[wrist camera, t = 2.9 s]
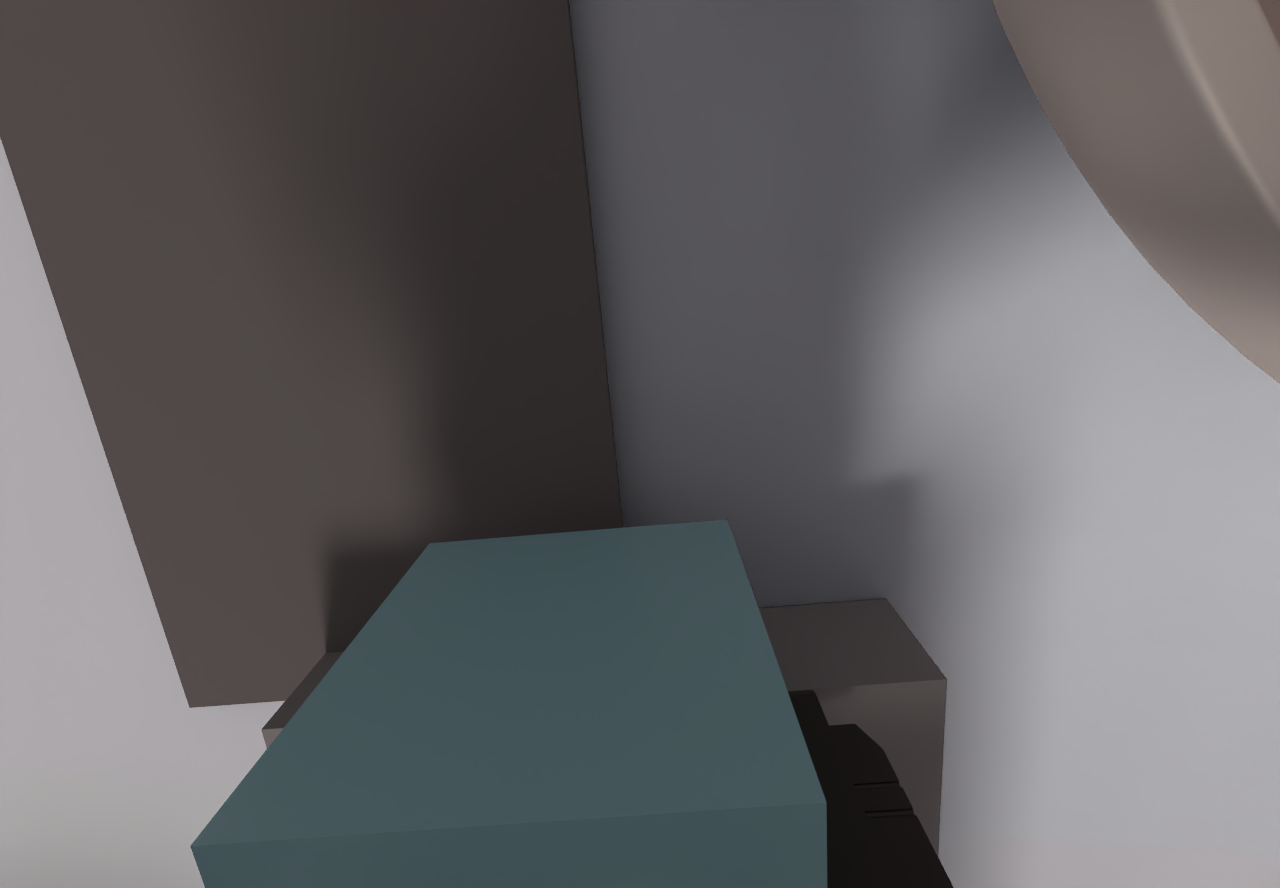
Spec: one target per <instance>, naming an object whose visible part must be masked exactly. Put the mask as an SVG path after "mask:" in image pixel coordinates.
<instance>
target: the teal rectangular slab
mask: <svg viewBox="0 0 1280 888" xmlns="http://www.w3.org/2000/svg"><path fill="white" fill-rule="evenodd" d="M191 849H192V852H193V855H194V857H195V860H196V863H197V866H198V869H199V871H200V874H201V877H202V880H203V883H204V886H205V888H827V807H826V800H825V797H824V794H823V791H822V788H821V785H820V783H819V780H818V777H817V774H816V771H815V768H814V765H813V762H812V760H811V757H810V754H809V751H808V748H807V745H806V742H805V740H804V737H803V734H802V731H801V728H800V725H799V722H798V720H797V717H796V714H795V711H794V708H793V705H792V702H791V700H790V697H789V694H788V691H787V688H786V685H785V682H784V680H783V677H782V674H781V671H780V668H779V665H778V662H777V660H776V657H775V654H774V651H773V648H772V645H771V642H770V640H769V637H768V634H767V631H766V628H765V625H764V622H763V620H762V617H761V614H760V611H759V608H758V605H757V602H756V600H755V597H754V594H753V591H752V588H751V585H750V582H749V579H748V577H747V574H746V571H745V568H744V565H743V562H742V559H741V557H740V554H739V551H738V548H737V545H736V542H735V539H734V537H733V534H732V531H731V528H730V525H729V522H728V519H723V520H711V521H699V522H686V523H674V524H662V525H649V526H637V527H625V528H612V529H600V530H588V531H575V532H563V533H551V534H538V535H526V536H514V537H501V538H489V539H477V540H464V541H452V542H440V543H429V545H428V546H427V547H426V549H425V550H424V551H423V552H422V554H421V555H420V556H419V557H418V559H417V560H416V561H415V562H414V564H413V565H412V566H411V568H410V569H409V570H408V571H407V573H406V574H405V575H404V576H403V578H402V579H401V580H400V581H399V583H398V584H397V585H396V587H395V588H394V589H393V590H392V592H391V593H390V594H389V595H388V597H387V598H386V599H385V600H384V602H383V603H382V604H381V605H380V607H379V608H378V609H377V611H376V612H375V613H374V614H373V616H372V617H371V618H370V619H369V621H368V622H367V623H366V624H365V626H364V627H363V628H362V630H361V631H360V632H359V633H358V635H357V636H356V637H355V638H354V640H353V641H352V642H351V643H350V645H349V646H348V647H347V649H346V650H345V651H344V652H343V654H342V655H341V656H340V657H339V659H338V660H337V661H336V662H335V664H334V665H333V666H332V668H331V669H330V670H329V671H328V673H327V674H326V675H325V676H324V678H323V679H322V680H321V681H320V683H319V684H318V685H317V687H316V688H315V689H314V690H313V692H312V693H311V694H310V695H309V697H308V698H307V699H306V700H305V702H304V703H303V704H302V706H301V707H300V708H299V709H298V711H297V712H296V713H295V714H294V716H293V717H292V718H291V719H290V721H289V722H288V723H287V725H286V726H285V727H284V728H283V730H282V731H281V732H280V733H279V735H278V736H277V737H276V738H275V740H274V741H273V742H272V743H271V745H270V746H269V747H268V749H267V750H266V751H265V752H264V754H263V755H262V756H261V757H260V759H259V760H258V761H257V762H256V764H255V765H254V766H253V768H252V769H251V770H250V771H249V773H248V774H247V775H246V776H245V778H244V779H243V780H242V781H241V783H240V784H239V785H238V787H237V788H236V789H235V790H234V792H233V793H232V794H231V795H230V797H229V798H228V799H227V800H226V802H225V803H224V804H223V806H222V807H221V808H220V809H219V811H218V812H217V813H216V814H215V816H214V817H213V818H212V819H211V821H210V822H209V823H208V825H207V826H206V827H205V828H204V830H203V831H202V832H201V833H200V835H199V836H198V837H197V838H196V840H195V841H194V842H193V844H192V845H191Z"/></svg>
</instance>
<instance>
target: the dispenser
mask: <svg viewBox="0 0 1280 888" xmlns="http://www.w3.org/2000/svg"><path fill="white" fill-rule="evenodd" d="M759 611H760V614H761V617H762V620H763V622H764V625H765V628H766V631H767V634H768V637H769V640H770V642H771V645H772V648H773V651H774V654H775V657H776V660H777V662H778V665H779V668H780V671H781V674H782V677H783V680H784V682H785V685H786V688H787V691H799V690H813V691H814V692H815V694H816V696H817V698H818V700H819V703H820V705H821V707H822V710H823V712H824V715H825V717H826V720H827V722H828V724H829V725H843V724H856V725H857V726H858V727H859V728H861V729H862V730H863V731H864V732H865V733H866V734H867V735H868V736H869V737H870V738H872V739H873V740H874V741H875V742H876V743H877V744H878V745H879V746H880V747H881V748H882V749H883V750H884V752H885V754H886V756H887V758H888V760H889V762H890V764H891V766H892V768H893V770H894V772H895V774H896V776H897V778H898V779H899V784H900V787H903V789H904V791H905V793H906V795H907V797H908V799H909V801H910V803H911V805H912V807H913V812H914V815H917V817H918V819H919V821H920V823H921V825H922V827H923V829H924V831H925V833H926V835H927V836H928V838H929V840H930V842H931V844H932V846H933V848H934V850H935V852H936V854H937V856H938V845H939V825H940V805H941V785H942V766H943V746H944V726H945V706H946V686H947V679H946V677H945V676H944V675H943V673H942V672H941V671H940V669H939V668H938V667H937V666H936V664H935V663H934V662H933V660H932V659H931V658H930V656H929V655H928V654H927V652H926V651H925V650H924V648H923V647H922V646H921V644H920V643H919V642H918V640H917V639H916V638H915V636H914V635H913V634H912V632H911V631H910V630H909V628H908V627H907V626H906V624H905V623H904V622H903V620H902V619H901V618H900V616H899V615H898V614H897V612H896V611H895V610H894V608H893V607H892V606H891V604H890V603H889V602H888V600H887V599H875V600H862V601H849V602H836V603H823V604H810V605H797V606H784V607H771V608H759ZM342 654H343V652H331V653H325V654H324V655H323V657H322V658H321V659H320V660H319V661H318V663H317V664H316V665H315V666H314V667H313V669H312V670H311V671H310V672H309V673H308V675H307V676H306V677H305V678H304V679H303V681H302V682H301V683H300V684H299V685H298V687H297V688H296V689H295V690H294V691H293V693H292V694H291V695H290V696H289V697H288V699H287V700H286V701H285V702H284V703H283V705H282V706H281V707H280V708H279V709H278V711H277V712H276V713H275V714H274V715H273V717H272V718H271V719H270V720H269V721H268V722H267V724H266V725H265V726H264V727H263V728H262V733H263V736H264V740H265V743H266V746H267V749H268V747H269V746H270V745H271V743H272V742H273V741H274V740H275V738H276V737H277V736H278V735H279V733H280V732H281V731H282V730H283V728H284V727H285V726H286V725H287V723H288V722H289V721H290V719H291V718H292V717H293V716H294V714H295V713H296V712H297V711H298V709H299V708H300V707H301V706H302V704H303V703H304V702H305V700H306V699H307V698H308V697H309V695H310V694H311V693H312V692H313V690H314V689H315V688H316V687H317V685H318V684H319V683H320V681H321V680H322V679H323V678H324V676H325V675H326V674H327V673H328V671H329V670H330V669H331V668H332V666H333V665H334V664H335V662H336V661H337V660H338V659H339V657H340V656H341V655H342Z"/></svg>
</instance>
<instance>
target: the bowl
mask: <svg viewBox="0 0 1280 888" xmlns="http://www.w3.org/2000/svg"><path fill="white" fill-rule="evenodd" d="M992 2H993V4H994V7H995V9H996V12H997V14H998V17H999V19H1000V22H1001V24H1002V27H1003V29H1004V32H1005V34H1006V36H1007V38H1008V40H1009V42H1010V44H1011V46H1012V48H1013V50H1014V52H1015V55H1016V57H1017V59H1018V61H1019V63H1020V65H1021V67H1022V69H1023V71H1024V73H1025V75H1026V77H1027V80H1028V82H1029V84H1030V86H1031V88H1032V90H1033V92H1034V94H1035V96H1036V98H1037V99H1038V101H1039V103H1040V105H1041V106H1042V108H1043V110H1044V112H1045V113H1046V115H1047V117H1048V119H1049V120H1050V122H1051V124H1052V126H1053V127H1054V129H1055V131H1056V133H1057V134H1058V136H1059V138H1060V140H1061V141H1062V143H1063V145H1064V147H1065V148H1066V150H1067V152H1068V154H1069V155H1070V157H1071V159H1072V160H1073V162H1074V163H1075V164H1076V166H1077V167H1078V169H1079V170H1080V172H1081V173H1082V175H1083V176H1084V178H1085V179H1086V181H1087V182H1088V184H1089V185H1090V187H1091V188H1092V190H1093V191H1094V192H1095V194H1096V195H1097V197H1098V198H1099V200H1100V201H1101V203H1102V204H1103V206H1104V207H1105V209H1106V210H1107V212H1108V213H1109V214H1110V216H1111V217H1112V218H1113V219H1114V221H1115V222H1116V223H1117V224H1118V226H1119V227H1120V228H1121V229H1122V231H1123V232H1124V233H1125V234H1126V236H1127V237H1128V238H1129V239H1130V241H1131V242H1132V243H1133V244H1134V246H1135V247H1136V248H1137V249H1138V251H1139V252H1140V253H1141V254H1142V256H1143V257H1144V258H1145V259H1146V261H1147V262H1148V263H1149V264H1150V265H1151V266H1152V267H1153V268H1154V270H1155V271H1156V272H1157V273H1158V274H1159V275H1160V276H1161V277H1162V278H1163V279H1164V280H1165V281H1166V282H1167V283H1168V284H1169V285H1170V286H1171V288H1172V289H1173V290H1174V291H1175V292H1176V293H1177V294H1178V295H1179V296H1180V297H1181V298H1182V299H1183V300H1184V301H1185V302H1186V303H1187V305H1188V306H1189V307H1190V308H1191V309H1193V310H1194V311H1195V312H1196V313H1197V314H1198V315H1199V316H1200V317H1201V318H1203V319H1204V320H1205V321H1206V322H1207V323H1208V324H1209V325H1210V326H1211V327H1213V328H1214V329H1215V330H1216V331H1217V332H1218V333H1219V334H1220V335H1221V336H1223V337H1224V338H1225V339H1226V340H1227V341H1228V342H1229V343H1230V344H1231V345H1233V346H1234V347H1235V348H1236V349H1237V350H1238V351H1239V352H1240V353H1241V354H1243V355H1244V356H1245V357H1246V358H1247V359H1248V360H1250V361H1251V362H1252V363H1253V364H1255V365H1256V366H1257V367H1259V368H1260V369H1261V370H1263V371H1264V372H1265V373H1267V374H1268V375H1269V376H1271V377H1272V378H1273V379H1275V380H1276V381H1277V382H1279V383H1280V0H992Z"/></svg>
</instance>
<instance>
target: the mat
mask: <svg viewBox="0 0 1280 888" xmlns="http://www.w3.org/2000/svg"><path fill="white" fill-rule="evenodd" d="M0 137H1V140H2V143H3V146H4V149H5V152H6V155H7V158H8V161H9V164H10V167H11V170H12V173H13V176H14V179H15V182H16V185H17V188H18V191H19V194H20V197H21V200H22V203H23V206H24V210H25V213H26V216H27V219H28V222H29V225H30V228H31V231H32V234H33V237H34V240H35V243H36V246H37V249H38V252H39V255H40V258H41V261H42V264H43V267H44V270H45V273H46V276H47V279H48V282H49V285H50V288H51V291H52V294H53V297H54V300H55V303H56V306H57V309H58V312H59V315H60V318H61V321H62V324H63V327H64V330H65V333H66V336H67V339H68V342H69V345H70V348H71V351H72V354H73V357H74V360H75V363H76V366H77V369H78V372H79V375H80V378H81V381H82V384H83V387H84V390H85V393H86V396H87V399H88V402H89V406H90V409H91V412H92V415H93V418H94V421H95V424H96V427H97V430H98V433H99V436H100V439H101V442H102V445H103V448H104V451H105V454H106V457H107V460H108V463H109V466H110V469H111V472H112V475H113V478H114V481H115V484H116V487H117V490H118V493H119V496H120V499H121V502H122V505H123V508H124V511H125V514H126V517H127V520H128V523H129V526H130V529H131V532H132V535H133V538H134V541H135V544H136V547H137V550H138V553H139V556H140V559H141V562H142V565H143V568H144V571H145V574H146V577H147V580H148V583H149V586H150V589H151V592H152V595H153V599H154V602H155V605H156V608H157V611H158V614H159V617H160V620H161V623H162V626H163V629H164V632H165V635H166V638H167V641H168V644H169V647H170V650H171V653H172V656H173V659H174V662H175V665H176V668H177V671H178V674H179V677H180V680H181V683H182V686H183V689H184V692H185V695H186V698H187V701H188V704H189V707H190V708H191V707H205V706H218V705H232V704H245V703H258V702H272V701H285V700H287V699H288V697H289V696H290V695H291V694H292V693H293V691H294V690H295V689H296V688H297V687H298V685H299V684H300V683H301V682H302V681H303V679H304V678H305V677H306V676H307V675H308V673H309V672H310V671H311V670H312V669H313V667H314V666H315V665H316V664H317V663H318V661H319V660H320V659H321V658H322V657H323V655H324V654H325V653H331V652H344V651H345V650H346V649H347V647H348V646H349V645H350V643H351V642H352V641H353V640H354V638H355V637H356V636H357V635H358V633H359V632H360V631H361V630H362V628H363V627H364V626H365V624H366V623H367V622H368V621H369V619H370V618H371V617H372V616H373V614H374V613H375V612H376V611H377V609H378V608H379V607H380V605H381V604H382V603H383V602H384V600H385V599H386V598H387V597H388V595H389V594H390V593H391V592H392V590H393V589H394V588H395V587H396V585H397V584H398V583H399V581H400V580H401V579H402V578H403V576H404V575H405V574H406V573H407V571H408V570H409V569H410V568H411V566H412V565H413V564H414V562H415V561H416V560H417V559H418V557H419V556H420V555H421V554H422V552H423V551H424V550H425V549H426V547H427V546H428V545H429V543H440V542H452V541H464V540H477V539H489V538H501V537H514V536H526V535H538V534H551V533H563V532H575V531H588V530H600V529H612V528H623V520H622V510H621V501H620V491H619V481H618V472H617V462H616V452H615V442H614V433H613V423H612V413H611V404H610V394H609V384H608V375H607V365H606V355H605V345H604V336H603V326H602V316H601V307H600V297H599V287H598V278H597V268H596V258H595V248H594V239H593V229H592V219H591V210H590V200H589V190H588V181H587V171H586V161H585V151H584V142H583V132H582V122H581V113H580V103H579V93H578V84H577V74H576V64H575V55H574V45H573V35H572V25H571V16H570V6H569V0H0Z"/></svg>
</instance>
